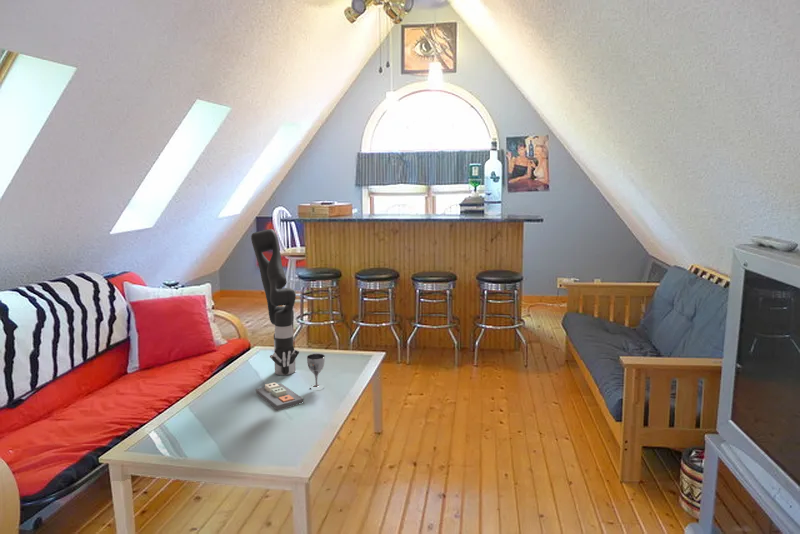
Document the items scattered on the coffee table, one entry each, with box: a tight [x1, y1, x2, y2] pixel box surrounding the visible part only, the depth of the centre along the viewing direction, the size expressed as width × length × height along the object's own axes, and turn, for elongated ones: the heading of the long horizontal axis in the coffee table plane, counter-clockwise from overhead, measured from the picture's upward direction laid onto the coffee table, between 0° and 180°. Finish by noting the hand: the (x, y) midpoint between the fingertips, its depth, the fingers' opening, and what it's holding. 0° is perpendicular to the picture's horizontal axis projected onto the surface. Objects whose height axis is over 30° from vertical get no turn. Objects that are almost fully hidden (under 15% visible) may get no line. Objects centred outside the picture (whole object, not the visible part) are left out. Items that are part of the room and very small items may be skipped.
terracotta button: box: [279, 395, 294, 403], centre depth 237 cm, size 5×5×3 cm
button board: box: [255, 382, 304, 411], centre depth 242 cm, size 12×22×2 cm, turn 37°
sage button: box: [272, 387, 287, 397], centre depth 242 cm, size 5×5×3 cm
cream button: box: [264, 381, 280, 392], centre depth 247 cm, size 5×5×3 cm
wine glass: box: [306, 353, 326, 387], centre depth 253 cm, size 8×8×15 cm
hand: (285, 374), depth 236 cm, fingers closed
